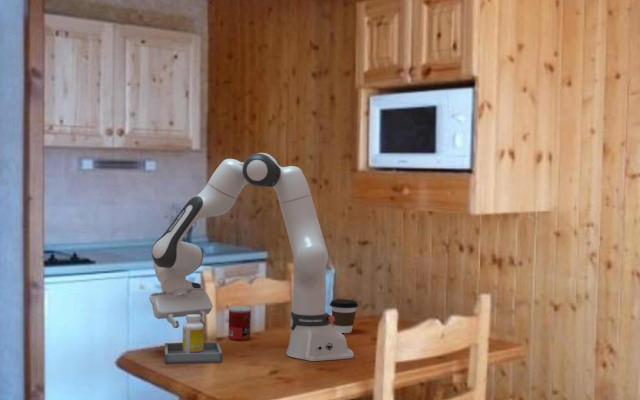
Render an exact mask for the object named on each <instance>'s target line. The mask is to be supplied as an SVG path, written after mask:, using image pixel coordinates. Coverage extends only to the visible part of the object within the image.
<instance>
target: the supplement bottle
mask: <svg viewBox="0 0 640 400" xmlns="http://www.w3.org/2000/svg"><path fill="white" fill-rule="evenodd" d="M185 319H186V322H185V323H184V324H183V325H182V343H183V353H203V343H204V329H205V328H204V325H203V324H202V323H200V319H201V315H198V314H189V315H186V316H185Z"/></svg>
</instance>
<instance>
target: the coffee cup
mask: <svg viewBox="0 0 640 400" xmlns="http://www.w3.org/2000/svg"><path fill="white" fill-rule="evenodd" d="M329 306H330V307H331V315H332V316H333V317H334V322H332V325H333V327H335V328H336V329H337V330H338V331H339V332H341V333H350V332H351V333H352V330H353V326H354V324H355V317H356V312H357V308H358V307H359V304H358V302H357V301H356V300H353V299H345V298H344V299H342V298H339V299H332V300H331V301H330V303H329ZM351 333H350V334H351Z"/></svg>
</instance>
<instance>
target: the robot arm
mask: <svg viewBox="0 0 640 400" xmlns="http://www.w3.org/2000/svg"><path fill="white" fill-rule="evenodd" d="M249 184H250V185H251V186H254V187H262V188H263V187H264V188H265V187H266V188H267V187H268V188H273V189H274V191H275V193H276V196H277V199H278V203H279V207H280V211H281V215H282V218H283V222H284V225H285V229H286V233H287V237H288V241H289V245H290V248H291V252H292V256H293V269H292V270H293V272H292V273H293V274H292V277H293V278H292V279H293V280H292V306H291V307H292V309H291V312H290V323H289V324H290V326H289V327H290V336H289V342H288V346H287V350H286V351H285V354H286V356H289V357H291V358H293V359H294V358H296V359H299V360H306V361H310V362H318V361H319V362H320V361H332V360H345V359H353V358H354V356H355V355H354V354H355V353H354V351H353V350H352V349H350V348H348V343H347V338H346V337H345V334H342V333H341V332H339V331H338V330H337V329H336V328H335V327H334V325H333V324H331V323H333V322H334V317H333V316H332V314H328V313H327V312H326V303H327V301H326V297H327V296H326V295H327V285H326V283H327V282H326V281H327V276H326V275H327V273H326V272H327V271H326V270H327V268H326V267H327V264H328V260H329V253H328V249H327V246H326V243H325V238H324V235H323V231H322V229H321V225H320V222H319V218H318V214H317V211H316V207H315V204H314V200H313V196H312V193H311V189H310V186H309V183H308V181H307V179H306V176H305V175H304V173H303V170H302V169H301V168H300V167H298V166H294V165H290V166H289V165H288V166H281V165H280V163H279V161H278V160H277V158H276V157H275V156H273V155H272V154H269V153H267V152H266V153H265V152H258V153H253V154H251V155H250V156H248V157H247V158H246V159H245V161H243V162H241V161H239V160H237V159H234V158H226V159H224V160H223V161H222V162H221V163H220V164H219V165H218V167H216V169H215V171H214V172H213V174H212V175H211V176H210V178H209V180H208V182H207V183H206V185H205V186H204V188H203V189H202V190H201V191H200V192H199V193H198V194H197V195H195V196H194V197H191V198H190V199H189V200H188V201H187V202H186V203H185V204H184V206H183V208H182V209H181V210H180V212H179V213H178V214H177V216H176V217H175V218H174V219H173V221H172V223H171V224H170V225H169V227H168V228H167V229H166V231H165V232H164V233H163V234H162V235H161V236H160V237H159V238H158V239H157V240H156V241H155V242H154V244H153V245H152V249H151V258H152V262H153V263H152V264H153V270H154V272H155V276H156V278H157V281H158V282H159V283H160V288H161V292H153V293H151V294H150V295H149V298H148V299H149V301H150V303H151V306H152V307H151V308H152V311H153V315H154V318H156V319H157V320H162V319H166V321H167V322H168V323H170V324H171V325H172V327H173V329H178V328H179V327H180V323H179V320H176V319H175V318H181V317H182V318H183V317H186V315H189V314H198V315H201V319H200V323H202V324H203V326H204V325H205V323H206V319H205V315H209V314H210V312H211V311H212V310H213V307H214V306H213V303H212V301H211V299H210V296H209V295H208V292H206V291H205V290H204V285H203V284H202V283H199V282H194V281H191V280H187V278H186V277H187V276H189V275H192V274H193V273H195V272H196V271H197V270H199V268H200V267H201V265H202V263H203V259H204V258H203V257H204V255H203V251H202V249H201V247H200V246H199V245H196V244H194V243H190V242H187V241H182V240H183V239H184V237H185V236H186V234H187V233H188V231H189V230H190V229H191V228H192V226H193V225H194V224H195V223H196V222H198V221H199V220H201V219H205V218H209V217H219V216H222V215H225V214H227V213H228V212H229V211H230V210H231V209H232V208H233V206H234V205H235V203H236V201H237V199H238V197H239V196H240V194H241V192H242V190H243V189H244V188H245V186H246V185H249Z"/></svg>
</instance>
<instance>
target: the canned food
mask: <svg viewBox="0 0 640 400" xmlns="http://www.w3.org/2000/svg"><path fill="white" fill-rule="evenodd" d="M251 311H252V309H251V308H250V307H247V306H246V307H245V306H233V307H229V308H228V330H227V331H228V340H230V341H234V342H235V341H236V342H245V341H249V340H250V338H251V323H252V322H251V320H252V312H251Z"/></svg>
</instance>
